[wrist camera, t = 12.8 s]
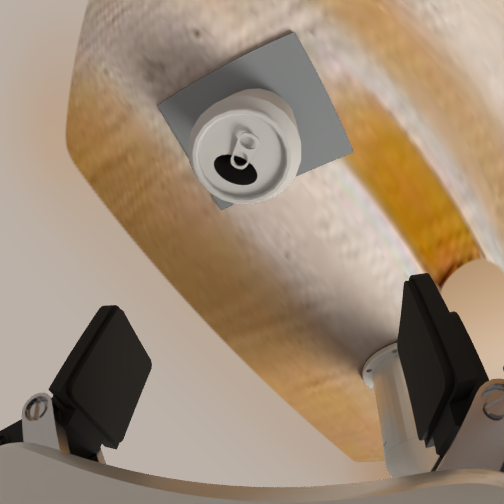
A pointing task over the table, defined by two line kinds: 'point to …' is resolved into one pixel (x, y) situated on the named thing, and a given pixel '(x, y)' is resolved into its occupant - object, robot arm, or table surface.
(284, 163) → the can
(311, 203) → the table surface
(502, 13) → the table surface
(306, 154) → the mat
